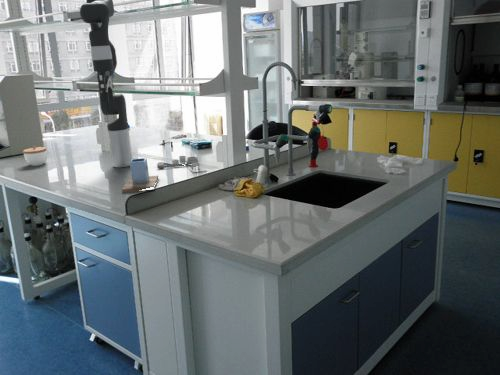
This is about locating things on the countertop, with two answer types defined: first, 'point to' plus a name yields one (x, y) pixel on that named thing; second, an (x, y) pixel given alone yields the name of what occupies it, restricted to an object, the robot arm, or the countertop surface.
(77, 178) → the countertop surface
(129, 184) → the post base
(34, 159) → the lidded jar
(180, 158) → the pulley system
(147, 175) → the blue box
